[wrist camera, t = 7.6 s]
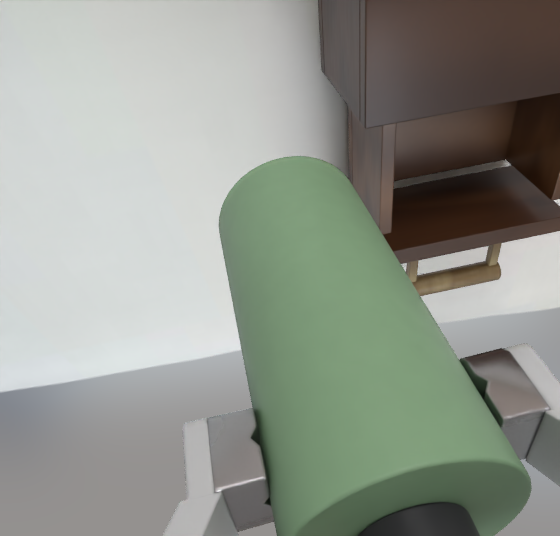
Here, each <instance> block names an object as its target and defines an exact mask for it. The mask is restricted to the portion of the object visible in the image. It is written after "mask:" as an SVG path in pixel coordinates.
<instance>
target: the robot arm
mask: <svg viewBox="0 0 560 536" xmlns="http://www.w3.org/2000/svg"><path fill="white" fill-rule="evenodd" d="M459 361H460V362H461V364H462V366H463V367H464V369H465V371H466V372H467V374H468V376H469V377H470V379H471V380H472V382H473V384H474V385H475V387H476V389H477V390H478V392H479V394H480V395H481V397H482V399H483V400H484V402H485V403H486V405H487V407H488V408H489V410H490V412H491V413H492V415H493V417H494V418H495V420H496V421H497V423H498V425H499V426H500V428H501V430H502V431H503V433H504V435H505V436H506V438H507V440H508V441H509V443H510V444H511V446H512V448H513V449H514V451H515V453H516V454H517V456H518V458H519V459H520V460H521V459H526V461H527V462H528V463H529V464H531V465H532V466H533V467H535V468H536V469H537V470H538V471H540V472H541V473H543V474H544V475H545V476H546V477H548V478H549V479H551V480H552V481H553V482H555V483H556V484H557V485H558V486H560V382H559V381H558V380H557V378H556V377H555V376H554V375H553V373H552V372H551V371H550V370H549V368H548V367H547V366H546V364H545V363H544V362H543V361H542V359H541V358H540V357H539V355H538V354H537V353H536V352H535V350H534V349H533V348H532V347H531V346H529V345H528V344H519V345H515V346H511V347H507V348H503V349H502V348H500V349H496V350H493V351H489V352H485V353H481V354H477V355H473V356H469V357H465V358H461V359H460V360H459ZM183 445H184V464H185V481H186V497H187V500H184V501H181V502H179V504H178V506H177V508H176V510H175V512H174V514H173V516H172V518H171V520H170V522H169V524H168V526H167V528H166V530H165V532H164V534H163V536H238V532H239V531H242V530H246V529H249V528H253V527H256V526H260V525H264V524H267V523H270V522H274V517H273V512H272V507H271V502H270V490H269V484H268V479H267V474H266V468H265V463H264V458H263V454H262V450H261V447H260V436H259V431H258V427H257V421H256V416H255V412H254V408H250V409H246V410H241V411H236V412H232V413H228V414H223V415H219V416H214V417H210V418H204V419H200V420H196V421H192V422H187V423H184V425H183Z"/></svg>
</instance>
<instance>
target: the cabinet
mask: <svg viewBox="0 0 560 536" xmlns="http://www.w3.org/2000/svg"><path fill="white" fill-rule="evenodd" d="M318 5H319V25H320V45H321V65H322V72H323V73H324V74H325V76H326V77H327V78H328V80H329V81H330V82H331V84H332V85H333V86H334V88H335V89H336V90H337V92H338V93H339V94H340V96H341V97H342V98H343V100H344V101H345V102H346V104H347V105H348V106H349V108H350V109H351V110H352V112H353V113H354V114H355V116H356V117H357V118H358V120H359V121H360V122H361V124H362V125H363V127H364V128H365V129H367V128H373V127H378V126H384V125H389V124H394V123H400V122H405V121H410V120H416V119H421V118H427V117H432V116H437V115H443V114H448V113H453V112H459V111H464V110H470V109H475V108H480V107H486V106H491V105H497V104H502V103H507V102H513V101H518V100H523V99H529V98H534V97H540V96H545V95H550V94H556V93H560V0H318Z"/></svg>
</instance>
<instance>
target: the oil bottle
mask: <svg viewBox="0 0 560 536" xmlns="http://www.w3.org/2000/svg"><path fill="white" fill-rule="evenodd" d="M219 233H220V238H221V244H222V249H223V254H224V259H225V265H226V270H227V275H228V280H229V286H230V291H231V296H232V301H233V307H234V312H235V317H236V323H237V328H238V333H239V338H240V344H241V349H242V354H243V359H244V365H245V370H246V375H247V380H248V385H249V391H250V396H251V402H252V407H253V408H254V412H255V416H256V421H257V427H258V431H259V436H260V447H261V450H262V454H263V458H264V463H265V468H266V474H267V479H268V484H269V490H270V502H271V507H272V512H273V517H274V522H275V528H276V533H277V536H494V535H495V534H497V533H498V532H499V531H500V530H502V529H503V528H504V527H506V526H507V525H508V524H509V523H510V522H511V521H512V520H513V519H514V518H515V517H516V516H517V515H518V514H519V513H520V511H521V510H522V509H523V507H524V506H525V504H526V503H527V501H528V499H529V497H530V493H531V480H530V477H529V475H528V472H527V471H526V469H525V467H524V466H523V464H522V463H521V461H520V459H519V458H518V456H517V454H516V453H515V451H514V449H513V448H512V446H511V444H510V443H509V441H508V440H507V438H506V436H505V435H504V433H503V431H502V430H501V428H500V426H499V425H498V423H497V421H496V420H495V418H494V417H493V415H492V413H491V412H490V410H489V408H488V407H487V405H486V403H485V402H484V400H483V399H482V397H481V395H480V394H479V392H478V390H477V389H476V387H475V385H474V384H473V382H472V380H471V379H470V377H469V376H468V374H467V372H466V371H465V369H464V367H463V366H462V364H461V362H460V361H459V359H458V358H457V356H456V354H455V353H454V351H453V349H452V348H451V346H450V345H449V343H448V341H447V339H446V338H445V336H444V335H443V333H442V331H441V330H440V328H439V326H438V325H437V323H436V321H435V320H434V318H433V316H432V315H431V313H430V312H429V310H428V308H427V307H426V305H425V303H424V302H423V300H422V298H421V297H420V295H419V294H418V292H417V290H416V289H415V287H414V285H413V284H412V282H411V280H410V279H409V277H408V275H407V274H406V272H405V271H404V269H403V267H402V266H401V264H400V262H399V261H398V259H397V257H396V256H395V254H394V253H393V251H392V249H391V248H390V246H389V244H388V243H387V241H386V239H385V238H384V236H383V234H382V233H381V231H380V230H379V228H378V226H377V225H376V223H375V221H374V220H373V218H372V216H371V215H370V213H369V212H368V210H367V208H366V207H365V205H364V203H363V202H362V200H361V198H360V197H359V195H358V193H357V192H356V190H355V189H354V187H353V185H352V184H351V182H350V181H349V179H348V178H347V177H346V175H345V174H344V173H342V172H341V171H340V170H339V169H338V168H336V167H335V166H333V165H332V164H330V163H327V162H325V161H323V160H319V159H316V158H311V157H304V156H292V157H284V158H279V159H275V160H272V161H269V162H266V163H264V164H262V165H260V166H258V167H256V168H254V169H253V170H251V171H250V172H248V173H247V174H246V175H245V176H243V177H242V178H241V179H240V180H239V181H238V182H237V183H236V184H235V185H234V187H233V188H232V189H231V190H230V192H229V193H228V195H227V197H226V199H225V200H224V203H223V205H222V208H221V212H220V216H219Z"/></svg>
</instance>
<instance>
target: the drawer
mask: <svg viewBox="0 0 560 536" xmlns="http://www.w3.org/2000/svg"><path fill="white" fill-rule="evenodd" d="M348 128H349V181H350V182H351V184H352V185H353V187H354V189H355V190H356V192H357V193H358V195H359V197H360V198H361V200H362V202H363V203H364V205H365V207H366V208H367V210H368V212H369V213H370V215H371V216H372V218H373V220H374V221H375V223H376V225H377V226H378V228H379V230H380V231H381V233H382V234H383V236H384V238H385V239H386V241H387V243H388V244H389V246H390V248H391V249H392V251H393V253H394V254H395V256H396V257H397V259H398V261H399V262H400V264H402V263H407V269H406V274H407V275H408V277H409V279H410V280H411V282H412V284H413V285H414V287H415V289H416V290H417V292H418V294H419V295H420V296H423V295H428V294H433V293H437V292H442V291H447V290H451V289H456V288H461V287H465V286H470V285H475V284H479V283H484V282H489V281H494V280H498V279H499V278H500V277H501V269H500V266H499V264H498V262H497V261H498V257H499V252H500V248H501V243H504V242H508V241H513V240H518V239H523V238H528V237H532V236H537V235H542V234H547V233H552V232H556V231H560V206H559V205H558V204H556V203H555V202H554V201H553V200H557V199H560V93H556V94H550V95H545V96H540V97H534V98H529V99H523V100H518V101H513V102H507V103H502V104H497V105H491V106H486V107H480V108H475V109H470V110H464V111H459V112H453V113H448V114H443V115H437V116H432V117H427V118H421V119H416V120H410V121H405V122H400V123H394V124H389V125H384V126H378V127H373V128H367V129H365V128H364V127H363V125H362V124H361V122H360V121H359V120H358V118H357V117H356V116H355V114H354V113H353V112H352V110H351V109H350V108H349V106H348ZM505 159H506V160H507V161H508V162H509V163H510V164H511V165H512V166H507V167H502V168H497V169H492V170H486V171H481V172H476V173H471V174H466V175H461V176H456V177H451V178H446V179H441V180H435V181H430V182H425V183H420V184H415V185H410V186H405V187H400V188H395V189H393V187H394V181H398V180H403V179H408V178H413V177H418V176H423V175H428V174H434V173H439V172H444V171H449V170H454V169H459V168H464V167H469V166H475V165H480V164H485V163H490V162H495V161H500V160H505ZM484 246H489V247H488V252H487V256H486V261H483V262H479V263H474V264H469V265H464V266H460V267H455V268H450V269H445V270H440V271H436V272H431V273H426V274H421V275H417V269H418V260H422V259H427V258H431V257H436V256H441V255H446V254H451V253H455V252H460V251H465V250H470V249H475V248H479V247H484Z"/></svg>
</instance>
